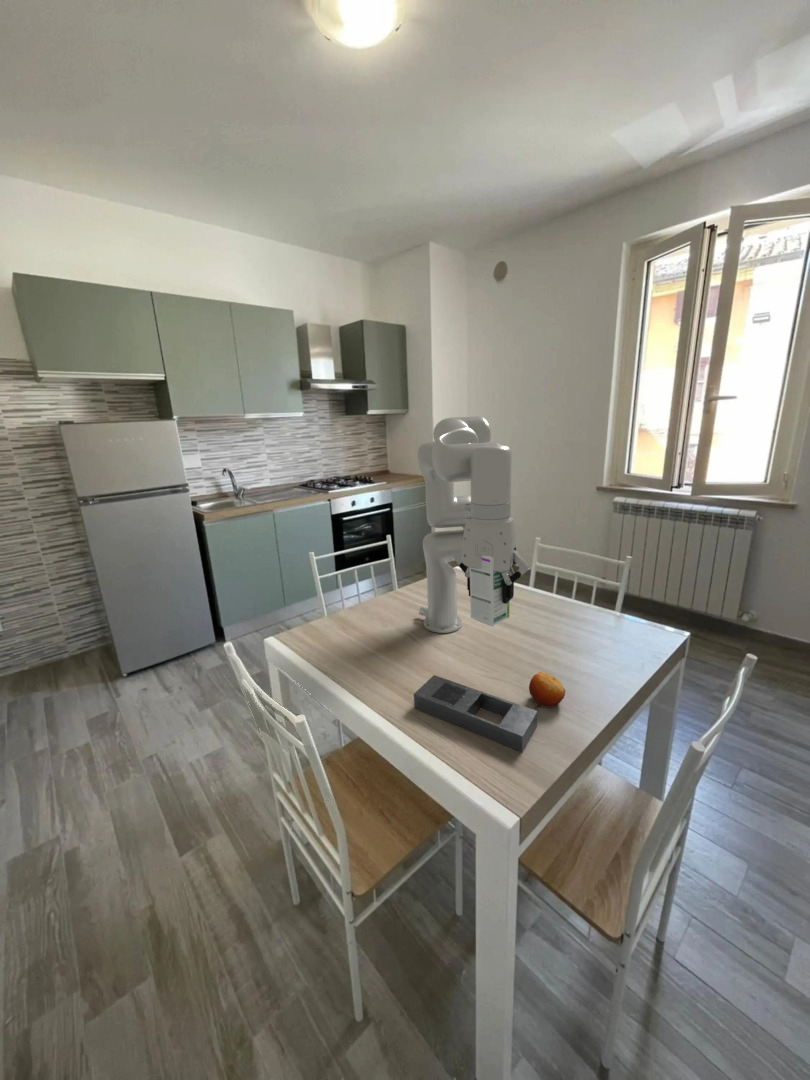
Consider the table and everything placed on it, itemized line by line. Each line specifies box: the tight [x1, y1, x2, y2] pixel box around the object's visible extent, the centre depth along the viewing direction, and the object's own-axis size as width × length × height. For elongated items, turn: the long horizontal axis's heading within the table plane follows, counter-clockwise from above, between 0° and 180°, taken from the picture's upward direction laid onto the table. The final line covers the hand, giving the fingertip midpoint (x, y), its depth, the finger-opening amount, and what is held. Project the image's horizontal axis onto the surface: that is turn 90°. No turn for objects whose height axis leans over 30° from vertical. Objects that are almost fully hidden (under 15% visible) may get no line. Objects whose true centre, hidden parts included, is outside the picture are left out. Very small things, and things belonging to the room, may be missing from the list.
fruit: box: [528, 671, 566, 709], centre depth 99 cm, size 8×8×8 cm
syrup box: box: [469, 554, 510, 627], centre depth 85 cm, size 6×6×14 cm
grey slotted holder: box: [413, 674, 539, 754], centre depth 95 cm, size 26×9×4 cm, turn 55°
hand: (489, 596), depth 86 cm, fingers closed on syrup box, 6 cm apart
